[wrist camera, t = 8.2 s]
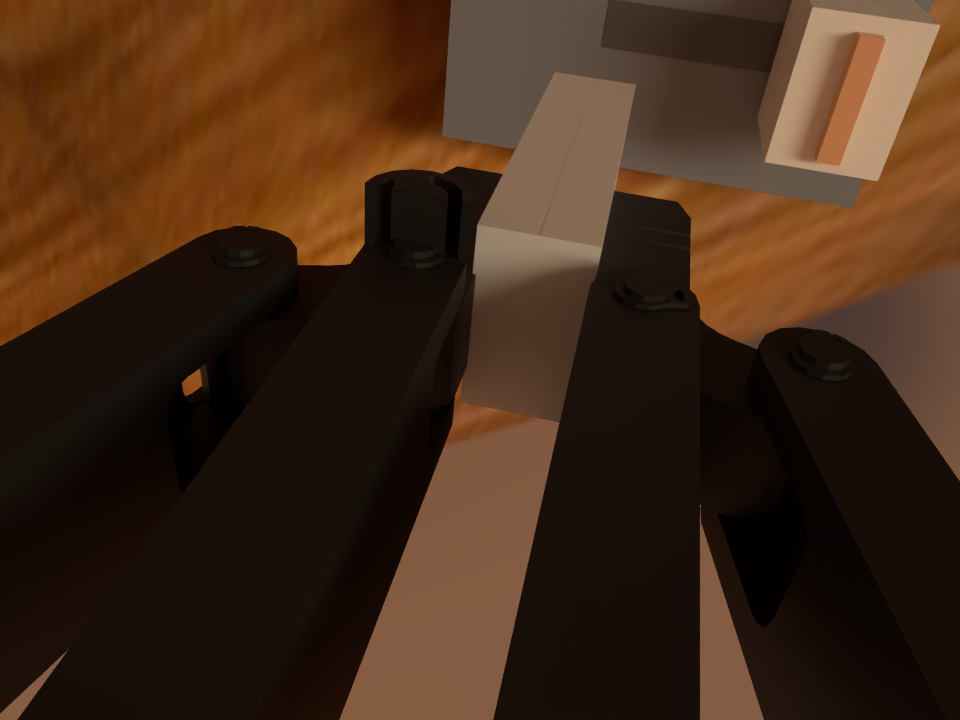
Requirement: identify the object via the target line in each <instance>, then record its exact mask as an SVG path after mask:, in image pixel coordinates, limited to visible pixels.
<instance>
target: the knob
mask: <svg viewBox="0 0 960 720" xmlns="http://www.w3.org/2000/svg"><path fill="white" fill-rule="evenodd" d="M939 28H940V24H939V23H938V22H937V21H935V20H934V19H933V18H932V17H931V16H930V15H929V14H928V13H927V12H926V11H925V10H924V9H923V8H922V7H921V6H919V5H918V4H917V3H916V2H915V1H914V0H792V1H791V5H790V8H789V11H788V15H787V18H786V22H785V25H784V28H783V32H782V35H781V38H780V42H779V45H778V49H777V52H776V55H775V59H774V62H773V66H772V69H771V72H770V76H769V79H768V82H767V86H766V89H765V93H764V96H763V99H762V103H761V106H760V109H759V113H758V116H757V119H758V125H759V131H760V137H761V144H762V150H763V156H764V162H767V163H773V164H779V165H785V166H791V167H797V168H803V169H808V170H814V171H820V172H826V173H832V174H838V175H844V176H850V177H856V178H862V179H867V180H873V181H878V179H879V177H880V174H881V172H882V169H883V167H884V164H885V162H886V159H887V157H888V154H889V152H890V149H891V147H892V144H893V142H894V140H895V137H896V135H897V132H898V130H899V127H900V125H901V122H902V120H903V117H904V115H905V112H906V110H907V107H908V105H909V102H910V100H911V97H912V95H913V92H914V90H915V87H916V85H917V82H918V80H919V78H920V75H921V73H922V70H923V68H924V65H925V63H926V60H927V58H928V55H929V53H930V50H931V48H932V45H933V43H934V40H935V38H936V35H937V33H938V30H939Z"/></svg>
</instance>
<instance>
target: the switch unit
mask: <svg viewBox="0 0 960 720" xmlns="http://www.w3.org/2000/svg"><path fill="white" fill-rule="evenodd" d="M791 1H792V0H451V11H450V26H449V41H448V56H447V71H446V86H445V102H444V117H443V132H442V137H448V138H454V139H459V140H465V141H471V142H476V143H482V144H488V145H494V146H499V147H505V148H511V149H516V148H517V146H518V144H519V142H520V140H521V138H522V136H523V134H524V132H525V130H526V128H527V126H528V124H529V122H530V120H531V118H532V116H533V114H534V112H535V110H536V108H537V106H538V104H539V102H540V100H541V99H542V97H543V95H544V93H545V91H546V89H547V87H548V85H549V83H550V81H551V79H552V77H553V75H554V73H555V72H558V73H565V74H571V75H577V76H584V77H590V78H597V79H603V80H609V81H616V82H622V83H629V84H635V85H636V87H635V92H634V97H633V102H632V107H631V112H630V117H629V122H628V127H627V132H626V137H625V142H624V147H623V151H622V156H621V161H620V166H619V167H620V168H625V169H631V170H637V171H643V172H648V173H654V174H660V175H666V176H671V177H677V178H683V179H688V180H694V181H700V182H706V183H711V184H717V185H723V186H729V187H734V188H740V189H746V190H751V191H757V192H763V193H769V194H774V195H780V196H786V197H792V198H797V199H803V200H809V201H814V202H820V203H826V204H832V205H837V206H843V207H849V208H852V207H853V205H854V202H855V199H856V197H857V194H858V192H859V189H860V187H861V184H862V182H863V179H862V178H856V177H850V176H844V175H838V174H832V173H826V172H820V171H814V170H808V169H803V168H797V167H791V166H785V165H779V164H773V163H767V162H764V156H763V150H762V144H761V137H760V131H759V125H758V119H757V116H758V113H759V109H760V106H761V103H762V99H763V96H764V93H765V89H766V86H767V82H768V79H769V76H770V72H771V69H772V66H773V62H774V59H775V55H776V52H777V49H778V45H779V42H780V38H781V35H782V32H783V28H784V25H785V22H786V18H787V15H788V11H789V8H790V5H791ZM914 1H915V2H916V3H917V4H918V5H919V6H921V7H922V8H923V9H924V10H925V11H926V12H927V13H929V11H930V8H931V5H932V3H933V0H914Z"/></svg>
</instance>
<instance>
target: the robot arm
mask: <svg viewBox="0 0 960 720" xmlns="http://www.w3.org/2000/svg"><path fill="white" fill-rule="evenodd" d="M635 87H636V85H635V84H629V83H622V82H616V81H609V80H603V79H597V78H590V77H584V76H577V75H571V74H565V73H558V72H555V73H554V75H553V77H552V79H551V81H550V83H549V85H548V87H547V89H546V91H545V93H544V95H543V97H542V99H541V100H540V102H539V104H538V106H537V108H536V110H535V112H534V114H533V116H532V118H531V120H530V122H529V124H528V126H527V128H526V130H525V132H524V134H523V136H522V138H521V140H520V142H519V144H518V146H517V148H516V150H515V152H514V153H513V155H512V157H511V159H510V161H509V163H508V165H507V167H506V169H505V171H504V173H503V174H499V173H493V172H487V171H481V170H476V169H470V168H464V167H458V166H457V167H455V168H453V169H451V170H449V171H447V172H445V173H443V174H441V173H437V172H433V171H424V170H413V169H411V170H397V171H390V172H386V173H383V174H379V175H376V176H374V177H373V178H371V179H370V180H368V181H367V182H365V244H364V246H363V247H362V248H361V250H360V251H359V253H358V254H357V255H356V257H355V258H354V259H353V261H352V262H351V264H347V265H331V266H321V265H298V261H297V247H296V246H295V245H294V244H293V242H292V241H291V240H290V238H288V237H286V236H284V235H282V234H280V233H278V232H276V231H271V230H266V229H262V228H260V227H254V226H248V227H245V226H233V227H231V228H228V229H221V230H215V231H213V232H210V233H208V234H205V235H202V236H200V237H198V238H196V239H194V240H192V241H190V242H188V243H187V244H185V245H183V246H181V247H179V248H178V249H176V250H174V251H172V252H170V253H169V254H167V255H165V256H163V257H161V258H159V259H158V260H156V261H154V262H152V263H150V264H149V265H147V266H145V267H143V268H141V269H140V270H138V271H136V272H134V273H132V274H131V275H129V276H127V277H125V278H123V279H121V280H120V281H118V282H116V283H114V284H112V285H111V286H109V287H107V288H105V289H103V290H102V291H100V292H98V293H96V294H94V295H92V296H91V297H89V298H87V299H85V300H83V301H82V302H80V303H78V304H76V305H74V306H73V307H71V308H69V309H67V310H65V311H63V312H62V313H60V314H58V315H56V316H54V317H53V318H51V319H49V320H47V321H45V322H44V323H42V324H40V325H38V326H36V327H34V328H33V329H31V330H29V331H27V332H25V333H24V334H22V335H20V336H18V337H16V338H15V339H13V340H11V341H9V342H7V343H5V344H4V345H2V346H0V713H1V712H2V711H3V710H4V709H5V708H6V707H7V706H9V705H10V704H11V703H12V702H13V701H14V700H15V699H16V698H17V697H18V696H19V695H20V694H21V693H22V692H23V691H24V690H26V689H27V688H28V687H29V686H30V685H31V684H32V683H33V682H34V681H35V680H36V679H37V678H38V677H39V676H41V675H42V674H43V673H44V672H45V671H46V670H47V669H48V668H49V667H50V666H51V665H52V664H53V663H54V662H56V661H57V660H58V659H59V658H60V657H61V656H62V655H63V654H64V653H65V652H66V651H67V650H68V649H69V650H68V651H67V653H66V654H65V655H64V657H63V658H62V659H61V661H60V662H59V664H58V665H57V666H56V668H55V669H54V670H53V672H52V673H51V674H50V676H49V677H48V679H47V680H46V681H45V683H44V684H43V685H42V687H41V689H40V690H39V691H38V692H37V694H36V695H35V696H34V698H33V699H32V700H31V702H30V703H29V705H28V706H27V707H26V709H25V710H24V712H23V713H22V714H21V716H20V717H19V718H18V720H339V719H340V717H341V714H342V711H343V709H344V706H345V704H346V701H347V698H348V695H349V693H350V691H351V688H352V685H353V683H354V680H355V677H356V674H357V672H358V670H359V667H360V664H361V662H362V659H363V657H364V654H365V651H366V649H367V646H368V643H369V641H370V638H371V636H372V633H373V630H374V627H375V625H376V623H377V620H378V617H379V614H380V612H381V609H382V607H383V604H384V602H385V599H386V596H387V594H388V591H389V589H390V586H391V583H392V581H393V578H394V575H395V573H396V570H397V568H398V565H399V563H400V560H401V557H402V554H403V552H404V549H405V547H406V544H407V541H408V539H409V536H410V534H411V531H412V528H413V526H414V523H415V521H416V518H417V515H418V513H419V510H420V507H421V505H422V502H423V500H424V497H425V494H426V492H427V489H428V487H429V484H430V482H431V479H432V476H433V474H434V471H435V468H436V466H437V463H438V461H439V458H440V455H441V453H442V450H443V448H444V445H445V442H446V440H447V437H448V434H449V432H450V429H451V427H452V422H453V411H454V400H455V394H456V392H457V389H458V387H459V384H460V382H461V379H462V377H463V379H462V389H461V400H460V402H465V403H470V404H475V405H479V406H484V407H489V408H494V409H498V410H503V411H508V412H513V413H517V414H522V415H527V416H532V417H536V418H541V419H546V420H551V421H556V422H560V423H559V427H558V432H557V436H556V441H555V445H554V450H553V454H552V459H551V463H550V468H549V472H548V477H547V481H546V486H545V490H544V495H543V499H542V504H541V508H540V513H539V517H538V522H537V526H536V531H535V535H534V540H533V544H532V549H531V553H530V558H529V562H528V566H527V571H526V575H525V580H524V585H523V589H522V594H521V598H520V602H519V607H518V611H517V616H516V620H515V625H514V629H513V634H512V638H511V643H510V648H509V652H508V656H507V661H506V665H505V670H504V674H503V679H502V683H501V688H500V692H499V697H498V701H497V706H496V710H495V715H494V719H493V720H700V510H701V523H702V526H703V530H704V532H705V536H706V539H707V542H708V545H709V548H710V552H711V555H712V558H713V561H714V564H715V567H716V570H717V574H718V577H719V580H720V583H721V586H722V589H723V592H724V595H725V599H726V602H727V605H728V608H729V611H730V614H731V618H732V620H733V624H734V627H735V630H736V633H737V636H738V640H739V643H740V646H741V649H742V652H743V655H744V658H745V661H746V664H747V668H748V671H749V674H750V677H751V680H752V683H753V686H754V689H755V693H756V696H757V699H758V702H759V705H760V709H761V712H762V715H763V718H764V720H960V481H959V480H958V478H957V477H956V475H955V474H954V472H953V471H952V469H951V468H950V467H949V465H948V464H947V462H946V461H945V460H944V458H943V457H942V455H941V454H940V452H939V451H938V450H937V448H936V447H935V445H934V444H933V442H932V441H931V440H930V438H929V437H928V435H927V434H926V432H925V431H924V429H923V428H922V427H921V425H920V424H919V422H918V421H917V420H916V418H915V417H914V415H913V414H912V412H911V411H910V409H909V408H908V407H907V405H906V404H905V402H904V401H903V400H902V398H901V397H900V395H899V394H898V392H897V391H896V389H895V388H894V387H893V385H892V384H891V382H890V381H889V379H888V378H887V377H886V375H885V374H884V372H883V371H882V369H881V368H880V367H879V365H878V364H877V363H876V362H875V361H874V360H873V359H872V358H871V357H870V356H869V355H868V354H867V353H866V352H865V351H864V350H862V349H860V348H859V347H857V346H855V345H854V344H852V343H850V342H849V341H847V340H846V339H845V338H843V337H840V336H838V335H836V334H833V335H832V334H830V332H826V331H823V330H813V329H807V328H801V327H796V328H780V329H777V330H775V331H773V332H770V333H768V334H766V335H765V337H764V338H763V340H762V341H761V343H760V344H759V347H758V349H755V348H752V347H750V346H748V345H745V344H742V343H740V342H737V341H735V340H732V339H730V338H728V337H726V336H724V335H722V334H720V333H718V332H716V331H715V330H713V329H712V328H710V327H709V326H707V325H706V324H705V323H704V322H703V321H702V320H701V319H700V306H699V303H698V300H697V297H696V295H695V294H694V293H693V292H692V291H691V290H690V235H691V218H690V217H689V216H688V214H687V213H686V212H685V211H684V209H683V208H682V207H681V206H680V204H679V203H678V202H675V201H669V200H663V199H657V198H652V197H646V196H640V195H634V194H628V193H623V192H617V191H615V186H616V181H617V176H618V171H619V166H620V161H621V156H622V151H623V147H624V142H625V137H626V132H627V127H628V122H629V117H630V112H631V107H632V102H633V97H634V92H635ZM199 368H200V373H201V380H202V386H201V387H200V388H199V389H197V390H196V391H195V392H193V393H192V394H190V395H187V396H185V395H184V393H183V389H182V382H183V381H184V380H185V379H186V378H187V377H188V376H190V375H191V374H192V373H194V372H195V371H196V370H198V369H199ZM700 505H701V508H700Z"/></svg>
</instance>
